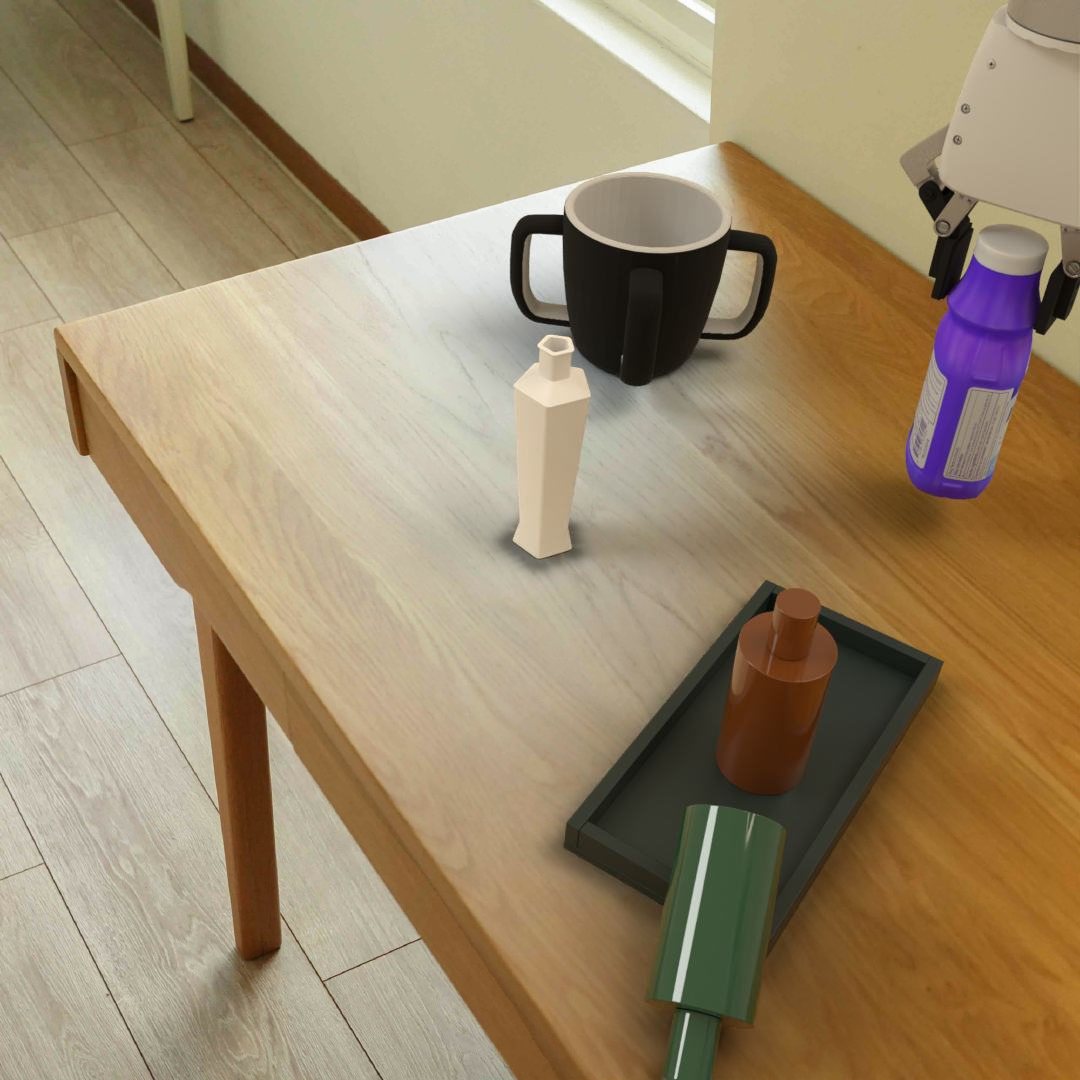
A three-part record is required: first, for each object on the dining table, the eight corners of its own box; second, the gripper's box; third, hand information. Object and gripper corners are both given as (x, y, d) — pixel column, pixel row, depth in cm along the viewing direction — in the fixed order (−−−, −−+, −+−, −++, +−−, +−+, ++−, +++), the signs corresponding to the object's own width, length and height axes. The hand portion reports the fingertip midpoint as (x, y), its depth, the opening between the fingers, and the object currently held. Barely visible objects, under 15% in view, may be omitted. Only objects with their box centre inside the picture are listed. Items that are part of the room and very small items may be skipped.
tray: (935, 685, 80) (944, 661, 78) (763, 964, 65) (770, 940, 64) (760, 603, 84) (766, 578, 83) (563, 847, 70) (565, 822, 68)
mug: (779, 370, 104) (807, 230, 96) (612, 434, 97) (628, 289, 89) (649, 274, 114) (665, 140, 106) (489, 326, 106) (493, 186, 99)
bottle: (990, 514, 87) (1071, 274, 75) (901, 501, 87) (967, 260, 76) (985, 449, 92) (1059, 216, 81) (900, 437, 93) (962, 203, 82)
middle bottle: (820, 751, 75) (866, 595, 67) (781, 810, 72) (823, 654, 64) (740, 711, 77) (775, 555, 69) (698, 767, 74) (730, 610, 66)
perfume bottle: (502, 557, 86) (510, 362, 76) (514, 513, 90) (523, 321, 80) (572, 567, 86) (590, 372, 76) (582, 523, 89) (600, 331, 79)
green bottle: (808, 838, 64) (764, 1105, 59) (728, 837, 68) (680, 1088, 63) (742, 803, 61) (690, 1080, 56) (662, 804, 65) (607, 1063, 60)
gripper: (1274, 22, 69) (1154, 327, 80) (953, -50, 76) (885, 241, 87) (1242, 64, 64) (1119, 383, 76) (902, -16, 71) (838, 287, 83)
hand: (995, 304), depth 81 cm, fingers closed on bottle, 5 cm apart
